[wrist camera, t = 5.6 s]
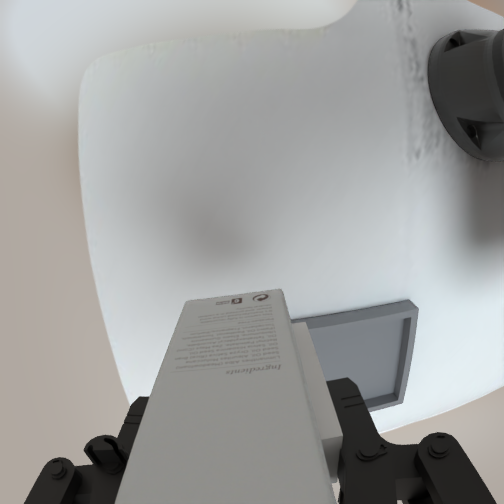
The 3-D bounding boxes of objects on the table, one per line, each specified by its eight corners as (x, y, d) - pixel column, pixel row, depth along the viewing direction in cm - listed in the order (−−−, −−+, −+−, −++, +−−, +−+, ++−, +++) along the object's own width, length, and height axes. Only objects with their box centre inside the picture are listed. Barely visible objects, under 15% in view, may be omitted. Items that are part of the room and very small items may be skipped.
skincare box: (182, 298, 13) (76, 596, 1) (282, 285, 13) (371, 610, 1) (211, 402, 15) (189, 625, 3) (293, 392, 15) (336, 619, 3)
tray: (409, 299, 30) (418, 308, 28) (396, 392, 34) (402, 403, 32) (226, 328, 30) (225, 339, 28) (245, 419, 34) (245, 432, 32)
